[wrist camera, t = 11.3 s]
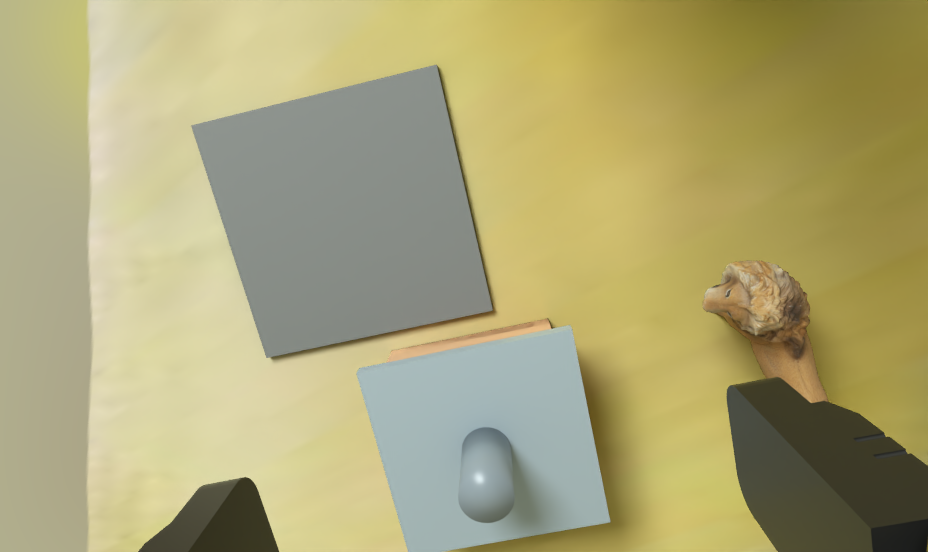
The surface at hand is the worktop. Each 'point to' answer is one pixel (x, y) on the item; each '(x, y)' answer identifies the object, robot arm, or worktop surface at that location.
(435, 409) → the lid
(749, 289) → the lion figurine
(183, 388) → the worktop surface
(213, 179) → the mat
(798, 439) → the robot arm
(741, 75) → the worktop surface
